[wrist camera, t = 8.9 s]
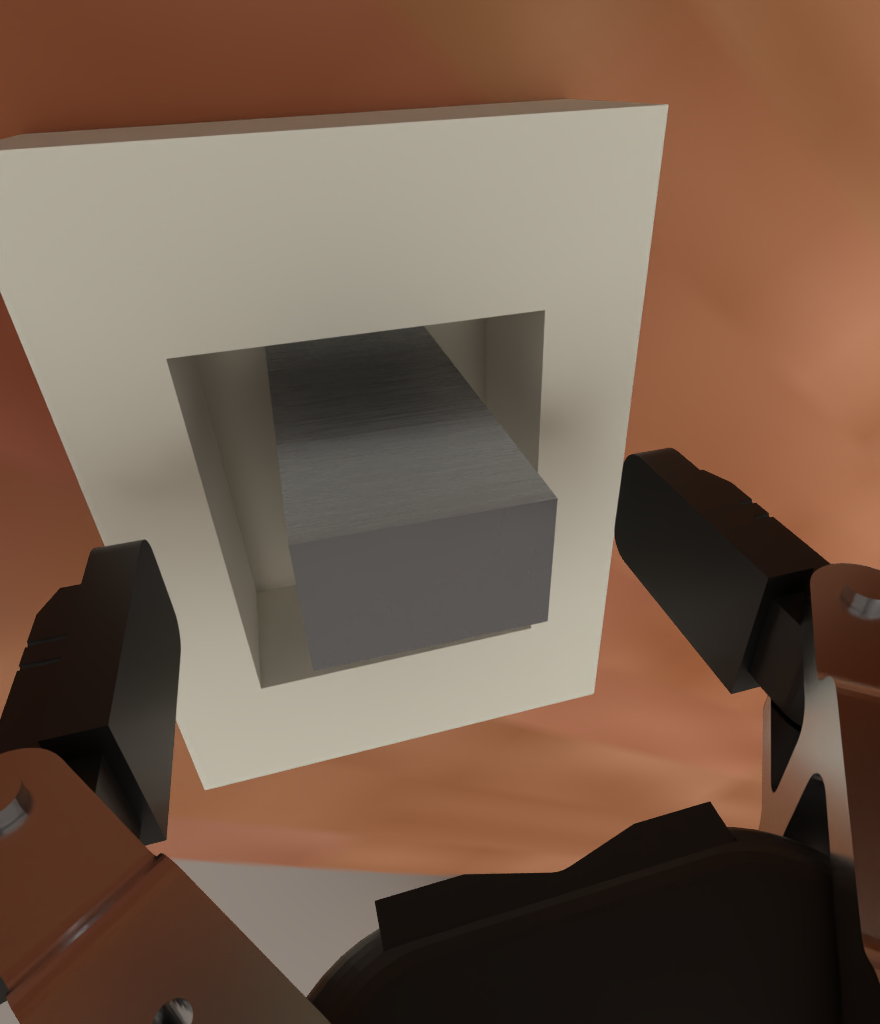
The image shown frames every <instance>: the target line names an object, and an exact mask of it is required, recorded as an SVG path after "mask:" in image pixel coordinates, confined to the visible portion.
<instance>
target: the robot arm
mask: <svg viewBox="0 0 880 1024" xmlns="http://www.w3.org/2000/svg"><path fill="white" fill-rule="evenodd" d="M614 533H615V540H616V545H617V548H618V551H619V553H620V555H621V557H622V559H623V560H624V562H625V563H626V564H627V565H628V567H629V568H630V569H631V570H632V572H633V573H634V574H635V575H636V577H637V578H638V579H639V580H640V582H641V583H642V584H643V585H644V586H645V588H646V589H647V590H648V591H649V593H650V594H651V595H652V596H653V598H654V599H655V600H656V601H657V603H658V604H659V605H660V606H661V608H662V609H663V610H664V611H665V613H666V614H667V615H668V616H669V617H670V619H671V620H672V621H673V622H674V624H675V625H676V626H677V627H678V629H679V630H680V631H681V632H682V634H683V635H684V636H685V637H686V639H687V640H688V641H689V642H690V644H691V645H692V646H693V647H694V648H695V650H696V651H697V652H698V653H699V655H700V656H701V657H702V658H703V660H704V661H705V662H706V663H707V665H708V666H709V667H710V668H711V670H712V671H713V672H714V673H715V674H716V676H717V677H718V678H719V679H720V681H721V682H722V683H723V684H724V686H725V687H726V688H727V689H728V691H729V692H730V693H731V694H733V693H737V692H741V691H745V690H749V689H752V688H756V687H760V686H761V688H762V689H763V690H764V691H765V692H766V693H767V695H768V696H767V699H766V701H765V704H764V707H763V754H762V811H761V819H760V825H759V830H755V829H746V828H737V827H726V825H725V823H724V822H723V820H722V819H721V817H720V816H719V814H718V813H717V811H716V810H715V808H714V807H713V805H712V804H711V802H706V803H703V804H700V805H696V806H693V807H689V808H686V809H683V810H679V811H676V812H673V813H669V814H666V815H663V816H659V817H656V818H652V819H649V820H646V821H642V822H639V823H636V824H633V825H632V826H630V827H629V828H627V829H626V830H624V831H623V832H621V833H620V834H618V835H617V836H615V837H614V838H612V839H611V840H609V841H608V842H606V843H605V844H603V845H602V846H600V847H599V848H597V849H596V850H594V851H593V852H591V853H590V854H588V855H587V856H585V857H584V858H582V859H581V860H579V861H578V862H576V863H575V864H573V865H572V866H570V867H568V868H567V869H565V870H562V871H559V872H553V873H512V874H464V875H460V876H457V877H454V878H450V879H447V880H444V881H440V882H437V883H433V884H430V885H427V886H424V887H420V888H417V889H413V890H410V891H407V892H403V893H400V894H396V895H393V896H390V897H386V898H383V899H380V900H377V901H375V905H376V911H377V917H378V922H379V929H378V930H376V931H375V932H373V933H372V934H370V935H368V936H367V937H365V938H364V939H362V940H361V941H360V942H358V943H357V944H356V945H355V946H353V947H352V948H351V949H350V950H349V951H347V952H346V953H345V954H344V955H343V956H341V957H340V959H339V960H338V961H337V962H336V963H335V964H334V965H333V966H332V967H331V968H330V969H329V970H328V971H327V972H326V973H325V974H324V975H323V976H322V978H321V979H320V980H319V982H318V983H317V984H316V985H315V987H314V988H313V989H312V991H311V992H310V993H309V995H308V996H307V997H305V996H304V995H303V994H302V993H301V992H300V991H299V990H298V989H297V988H296V987H295V986H294V985H293V984H292V983H291V982H290V981H289V980H288V978H286V977H285V975H284V974H283V973H282V972H281V971H280V970H279V969H278V968H277V967H276V966H275V965H274V964H273V963H272V962H271V961H270V960H269V959H268V958H267V957H266V956H265V955H264V954H263V953H262V952H261V951H260V950H259V949H258V948H257V947H256V946H255V945H254V944H253V942H251V941H250V940H249V939H248V937H247V936H246V935H245V934H244V933H243V932H242V931H241V930H240V929H239V928H238V927H237V926H236V925H235V924H234V923H233V922H232V921H231V920H230V919H229V918H228V917H227V916H226V915H225V914H224V913H223V912H222V911H221V909H220V908H218V906H217V905H216V904H215V903H214V902H213V901H212V900H211V899H210V898H209V897H208V896H207V895H206V894H205V893H204V892H203V891H202V890H201V889H200V888H199V887H198V886H197V885H196V884H195V883H194V882H193V881H192V880H191V879H190V878H189V877H188V876H187V875H186V873H185V872H184V871H183V870H182V869H181V868H180V867H179V866H178V865H177V864H175V863H174V862H173V861H172V860H171V859H170V858H169V857H167V856H166V855H164V854H162V853H160V854H159V855H158V856H157V857H156V856H155V855H154V854H152V853H151V852H150V851H149V850H148V849H147V848H146V847H145V845H149V844H153V843H157V842H161V841H164V840H166V838H167V825H168V812H169V799H170V786H171V773H172V760H173V747H174V734H175V721H176V709H177V696H178V683H179V670H180V657H181V640H180V632H179V626H178V622H177V618H176V614H175V611H174V608H173V605H172V603H171V600H170V597H169V594H168V592H167V589H166V586H165V583H164V581H163V578H162V575H161V572H160V569H159V567H158V564H157V561H156V558H155V556H154V553H153V550H152V548H151V546H150V544H149V543H148V541H147V540H145V539H144V540H138V541H132V542H127V543H121V544H115V545H110V546H104V547H99V548H94V549H92V550H91V552H90V555H89V558H88V562H87V565H86V569H85V573H84V576H83V580H82V583H81V584H80V585H74V586H69V587H63V588H60V589H59V590H58V591H57V592H56V593H55V594H54V596H53V597H52V598H51V599H50V600H49V601H48V602H47V603H46V605H45V606H44V607H43V608H42V609H41V610H40V611H39V612H38V614H37V615H36V618H35V621H34V624H33V626H32V629H31V632H30V635H29V638H28V641H27V643H28V647H26V648H25V650H24V652H23V655H22V658H21V661H20V664H19V666H20V671H17V673H16V676H15V678H14V681H13V684H12V687H11V690H10V693H9V696H8V699H7V702H6V704H5V707H4V710H3V713H2V716H1V719H0V1004H2V1003H3V1002H5V1001H8V1003H9V1005H10V1007H11V1009H12V1011H13V1012H14V1014H15V1016H16V1018H17V1019H18V1021H19V1023H20V1024H880V570H878V569H874V568H871V567H867V566H863V565H858V564H849V563H838V564H830V563H829V562H827V561H826V560H825V559H824V558H823V557H821V556H820V555H819V554H818V553H817V552H815V551H814V550H813V549H812V548H810V547H809V546H808V545H807V544H806V543H804V542H803V541H802V540H801V539H799V538H798V537H797V536H796V535H795V534H793V533H792V532H791V531H790V530H789V529H787V528H786V527H785V526H784V525H782V524H781V523H780V522H779V521H778V520H776V519H775V518H774V517H769V513H768V512H767V511H765V510H764V509H763V508H762V507H761V506H759V505H758V504H757V503H752V499H751V498H750V497H748V496H747V495H746V494H745V493H743V492H742V491H741V490H740V489H739V488H737V487H736V486H735V485H734V484H732V483H731V482H729V481H727V480H725V479H722V478H720V477H718V476H716V475H714V474H711V473H709V472H707V471H705V470H699V469H698V468H697V467H696V466H694V465H693V464H692V463H691V462H690V461H688V460H687V459H686V458H685V457H684V456H683V455H681V454H680V453H679V452H678V451H676V450H675V449H673V448H665V449H659V450H654V451H648V452H642V453H637V454H631V455H629V456H628V457H627V458H626V459H625V461H624V464H623V469H622V476H621V483H620V490H619V498H618V505H617V512H616V519H615V528H614Z"/></svg>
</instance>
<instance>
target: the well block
mask: <svg viewBox="0 0 880 1024" xmlns="http://www.w3.org/2000/svg"><path fill="white" fill-rule="evenodd" d="M668 105H669V104H651V103H634V102H616V101H598V100H581V99H556V100H541V101H526V102H510V103H495V104H479V105H464V106H448V107H433V108H418V109H402V110H387V111H371V112H356V113H340V114H325V115H310V116H294V117H279V118H263V119H248V120H232V121H217V122H201V123H186V124H171V125H155V126H140V127H124V128H109V129H93V130H78V131H63V132H47V133H32V134H21V135H17V136H13V137H9V138H5V139H1V140H0V292H1V294H2V297H3V299H4V302H5V304H6V307H7V309H8V312H9V314H10V316H11V319H12V321H13V324H14V326H15V329H16V331H17V333H18V336H19V338H20V341H21V343H22V346H23V348H24V351H25V353H26V355H27V358H28V360H29V363H30V365H31V368H32V370H33V372H34V375H35V377H36V380H37V382H38V385H39V387H40V390H41V392H42V394H43V397H44V399H45V402H46V404H47V407H48V409H49V412H50V414H51V416H52V419H53V421H54V424H55V426H56V429H57V431H58V433H59V436H60V438H61V441H62V443H63V446H64V448H65V451H66V453H67V455H68V458H69V460H70V463H71V465H72V468H73V470H74V472H75V475H76V477H77V480H78V482H79V485H80V487H81V490H82V492H83V494H84V497H85V499H86V502H87V504H88V507H89V509H90V511H91V514H92V516H93V519H94V521H95V524H96V526H97V529H98V531H99V533H100V536H101V538H102V541H103V543H104V546H110V545H115V544H121V543H127V542H132V541H138V540H144V539H145V540H147V541H148V543H149V544H150V546H151V548H152V550H153V553H154V556H155V558H156V561H157V564H158V567H159V569H160V572H161V575H162V578H163V581H164V583H165V586H166V589H167V592H168V594H169V597H170V600H171V603H172V605H173V608H174V611H175V614H176V618H177V622H178V626H179V632H180V640H181V657H180V670H179V683H178V696H177V709H176V721H177V724H178V726H179V728H180V731H181V733H182V736H183V738H184V741H185V743H186V746H187V748H188V750H189V753H190V755H191V758H192V760H193V763H194V765H195V767H196V770H197V772H198V775H199V777H200V780H201V782H202V785H203V787H204V789H205V790H208V789H212V788H216V787H220V786H224V785H228V784H232V783H236V782H240V781H244V780H248V779H252V778H256V777H260V776H265V775H269V774H273V773H277V772H281V771H285V770H289V769H293V768H297V767H301V766H305V765H309V764H313V763H317V762H321V761H325V760H329V759H333V758H337V757H341V756H345V755H349V754H353V753H357V752H361V751H365V750H369V749H373V748H377V747H381V746H385V745H389V744H393V743H397V742H401V741H405V740H409V739H413V738H417V737H421V736H425V735H430V734H434V733H438V732H442V731H446V730H450V729H454V728H458V727H462V726H466V725H470V724H474V723H478V722H482V721H486V720H490V719H494V718H498V717H502V716H506V715H510V714H514V713H518V712H522V711H526V710H530V709H534V708H538V707H542V706H546V705H550V704H554V703H558V702H562V701H566V700H570V699H574V698H578V697H582V696H586V695H590V694H594V688H595V680H596V672H597V664H598V656H599V648H600V641H601V633H602V625H603V617H604V609H605V601H606V593H607V585H608V578H609V570H610V562H611V554H612V546H613V538H614V528H615V519H616V512H617V505H618V498H619V490H620V483H621V475H622V467H623V459H624V452H625V444H626V436H627V428H628V420H629V412H630V404H631V396H632V389H633V381H634V373H635V365H636V357H637V349H638V341H639V333H640V326H641V318H642V310H643V302H644V294H645V286H646V278H647V270H648V263H649V255H650V247H651V239H652V231H653V223H654V215H655V207H656V200H657V192H658V184H659V176H660V168H661V160H662V152H663V144H664V137H665V129H666V121H667V113H668ZM417 326H424V327H425V328H426V329H427V331H428V332H429V333H430V334H431V336H432V337H433V338H434V340H435V341H436V342H437V344H438V345H439V346H440V347H441V349H442V350H443V351H444V353H445V354H446V355H447V356H448V358H449V359H450V360H451V362H452V363H453V364H454V365H455V367H456V368H457V369H458V371H459V372H460V373H461V374H462V376H463V377H464V378H465V380H466V381H467V382H468V383H469V385H470V386H471V387H472V389H473V390H474V391H475V392H476V394H477V395H478V396H479V398H480V399H481V400H482V402H483V403H484V404H485V405H486V407H487V408H488V409H489V411H490V412H491V413H492V414H493V416H494V417H495V418H496V420H497V421H498V422H499V423H500V425H501V426H502V427H503V429H504V430H505V431H506V432H507V434H508V435H509V436H510V438H511V439H512V440H513V441H514V443H515V444H516V445H517V447H518V448H519V449H520V450H521V452H522V453H523V454H524V456H525V457H526V458H527V460H528V461H529V462H530V463H531V465H532V466H533V467H534V469H535V470H536V471H537V472H538V474H539V475H540V476H541V478H542V479H543V480H544V481H545V483H546V484H547V485H548V487H549V488H550V489H551V490H552V492H553V493H554V494H555V496H556V497H557V498H558V501H557V513H556V525H555V538H554V550H553V562H552V575H551V587H550V599H549V612H548V621H547V622H542V623H538V624H533V625H528V626H524V627H519V628H514V629H509V630H505V631H500V632H495V633H491V634H486V635H481V636H476V637H472V638H467V639H462V640H458V641H453V642H448V643H443V644H439V645H434V646H429V647H425V648H420V649H415V650H410V651H406V652H401V653H396V654H392V655H387V656H382V657H377V658H373V659H368V660H363V661H359V662H354V663H349V664H344V665H340V666H335V667H330V668H326V669H321V670H316V671H313V667H312V662H311V657H310V652H309V647H308V642H307V637H306V632H305V627H304V621H303V616H302V611H301V606H300V601H299V596H298V591H297V586H296V581H295V576H294V571H293V566H292V561H291V555H290V550H289V545H288V537H287V529H286V520H285V512H284V504H283V495H282V487H281V478H280V470H279V462H278V453H277V445H276V436H275V428H274V420H273V411H272V403H271V395H270V386H269V378H268V369H267V361H266V353H265V346H270V345H277V344H285V343H293V342H301V341H308V340H316V339H324V338H332V337H340V336H347V335H355V334H363V333H371V332H379V331H386V330H394V329H402V328H410V327H417Z"/></svg>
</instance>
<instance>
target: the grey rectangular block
mask: <svg viewBox="0 0 880 1024" xmlns="http://www.w3.org/2000/svg"><path fill="white" fill-rule="evenodd" d="M265 353H266V361H267V369H268V378H269V386H270V395H271V403H272V411H273V420H274V428H275V436H276V445H277V453H278V462H279V470H280V478H281V487H282V495H283V504H284V512H285V520H286V529H287V537H288V545H289V550H290V555H291V561H292V566H293V571H294V576H295V581H296V586H297V591H298V596H299V601H300V606H301V611H302V616H303V621H304V627H305V632H306V637H307V642H308V647H309V652H310V657H311V662H312V667H313V671H316V670H321V669H326V668H330V667H335V666H340V665H344V664H349V663H354V662H359V661H363V660H368V659H373V658H377V657H382V656H387V655H392V654H396V653H401V652H406V651H410V650H415V649H420V648H425V647H429V646H434V645H439V644H443V643H448V642H453V641H458V640H462V639H467V638H472V637H476V636H481V635H486V634H491V633H495V632H500V631H505V630H509V629H514V628H519V627H524V626H528V625H533V624H538V623H542V622H547V621H548V612H549V599H550V587H551V575H552V562H553V550H554V538H555V525H556V513H557V501H558V498H557V497H556V496H555V494H554V493H553V492H552V490H551V489H550V488H549V487H548V485H547V484H546V483H545V481H544V480H543V479H542V478H541V476H540V475H539V474H538V472H537V471H536V470H535V469H534V467H533V466H532V465H531V463H530V462H529V461H528V460H527V458H526V457H525V456H524V454H523V453H522V452H521V450H520V449H519V448H518V447H517V445H516V444H515V443H514V441H513V440H512V439H511V438H510V436H509V435H508V434H507V432H506V431H505V430H504V429H503V427H502V426H501V425H500V423H499V422H498V421H497V420H496V418H495V417H494V416H493V414H492V413H491V412H490V411H489V409H488V408H487V407H486V405H485V404H484V403H483V402H482V400H481V399H480V398H479V396H478V395H477V394H476V392H475V391H474V390H473V389H472V387H471V386H470V385H469V383H468V382H467V381H466V380H465V378H464V377H463V376H462V374H461V373H460V372H459V371H458V369H457V368H456V367H455V365H454V364H453V363H452V362H451V360H450V359H449V358H448V356H447V355H446V354H445V353H444V351H443V350H442V349H441V347H440V346H439V345H438V344H437V342H436V341H435V340H434V338H433V337H432V336H431V334H430V333H429V332H428V331H427V329H426V328H425V327H424V326H417V327H410V328H402V329H394V330H386V331H379V332H371V333H363V334H355V335H347V336H340V337H332V338H324V339H316V340H308V341H301V342H293V343H285V344H277V345H270V346H265Z"/></svg>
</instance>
